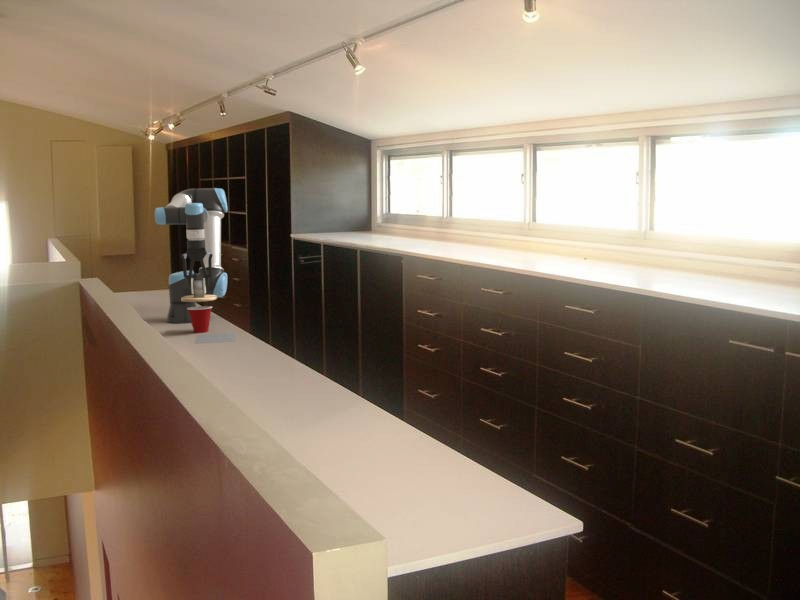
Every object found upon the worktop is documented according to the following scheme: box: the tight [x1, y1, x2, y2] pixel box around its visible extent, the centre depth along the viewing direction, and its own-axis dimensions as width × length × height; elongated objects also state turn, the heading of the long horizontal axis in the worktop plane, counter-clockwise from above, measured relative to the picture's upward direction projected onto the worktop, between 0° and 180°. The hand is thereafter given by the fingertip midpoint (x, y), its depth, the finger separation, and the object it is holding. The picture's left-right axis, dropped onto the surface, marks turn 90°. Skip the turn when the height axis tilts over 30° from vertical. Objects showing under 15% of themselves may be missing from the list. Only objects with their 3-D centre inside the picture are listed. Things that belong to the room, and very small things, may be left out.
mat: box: [194, 332, 237, 344], centre depth 332 cm, size 17×16×1 cm
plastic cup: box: [187, 305, 213, 334], centre depth 346 cm, size 11×11×12 cm
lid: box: [181, 280, 218, 303], centre depth 343 cm, size 15×15×8 cm
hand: (198, 293), depth 344 cm, fingers closed on lid, 4 cm apart
